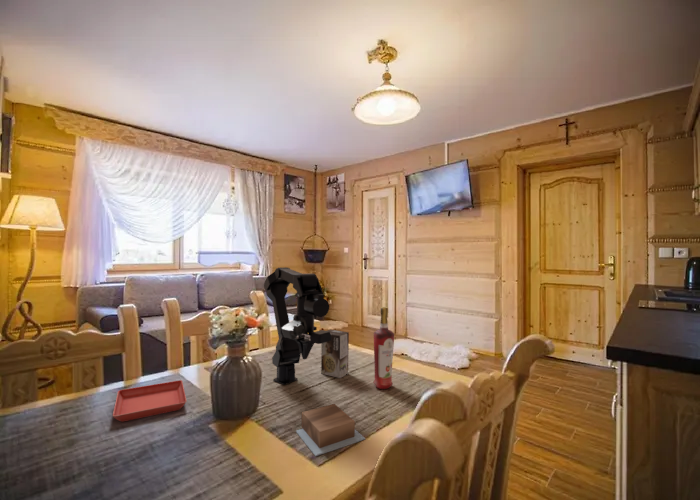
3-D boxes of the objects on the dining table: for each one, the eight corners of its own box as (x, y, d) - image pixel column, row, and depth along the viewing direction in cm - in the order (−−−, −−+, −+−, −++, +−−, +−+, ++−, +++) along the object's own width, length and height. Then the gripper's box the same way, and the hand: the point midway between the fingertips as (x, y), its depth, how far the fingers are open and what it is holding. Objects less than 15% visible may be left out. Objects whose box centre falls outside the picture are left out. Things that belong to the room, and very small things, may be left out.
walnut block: (301, 412, 89) (319, 431, 80) (334, 403, 95) (354, 421, 85) (301, 427, 89) (319, 448, 80) (334, 417, 95) (354, 436, 85)
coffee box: (348, 373, 129) (349, 332, 129) (339, 378, 124) (340, 335, 124) (330, 368, 134) (330, 328, 134) (320, 373, 129) (321, 332, 129)
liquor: (386, 381, 122) (387, 305, 122) (397, 388, 116) (398, 308, 116) (368, 384, 119) (370, 306, 119) (379, 392, 113) (380, 310, 112)
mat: (295, 431, 88) (295, 430, 88) (341, 418, 95) (341, 417, 95) (315, 456, 77) (315, 455, 77) (365, 439, 85) (365, 438, 85)
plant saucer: (187, 412, 98) (187, 400, 98) (111, 428, 88) (112, 415, 88) (182, 389, 113) (182, 379, 113) (117, 400, 104) (117, 390, 104)
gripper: (267, 311, 109) (267, 358, 109) (307, 319, 97) (306, 372, 97) (293, 307, 118) (292, 351, 118) (332, 314, 106) (332, 363, 106)
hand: (304, 358), depth 109 cm, fingers closed
